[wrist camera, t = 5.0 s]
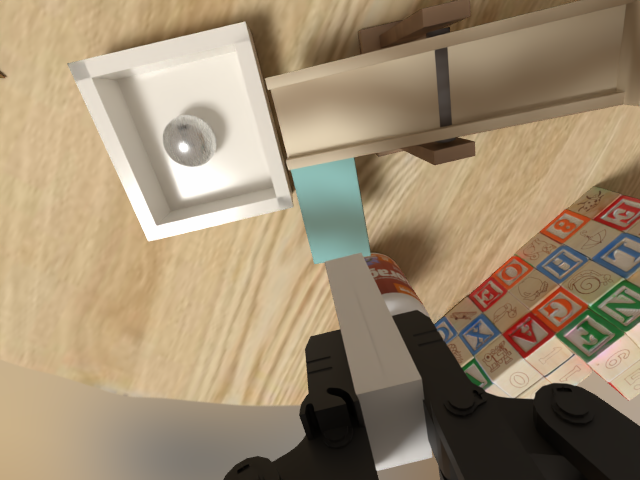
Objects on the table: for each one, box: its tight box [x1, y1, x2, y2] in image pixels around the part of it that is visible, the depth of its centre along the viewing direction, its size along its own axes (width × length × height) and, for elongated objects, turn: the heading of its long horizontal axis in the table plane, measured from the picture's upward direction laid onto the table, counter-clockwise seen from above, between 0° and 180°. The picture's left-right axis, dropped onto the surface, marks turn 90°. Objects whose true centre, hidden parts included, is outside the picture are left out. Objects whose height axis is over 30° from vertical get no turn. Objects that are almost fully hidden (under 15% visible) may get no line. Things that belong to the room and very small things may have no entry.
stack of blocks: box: [435, 186, 640, 401], centre depth 29 cm, size 21×6×12 cm, turn 138°
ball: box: [163, 115, 216, 167], centre depth 25 cm, size 4×4×4 cm
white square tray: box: [67, 22, 293, 241], centre depth 25 cm, size 12×11×4 cm
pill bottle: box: [364, 253, 430, 318], centre depth 28 cm, size 6×6×11 cm
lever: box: [265, 0, 640, 264], centre depth 20 cm, size 12×19×3 cm, turn 102°
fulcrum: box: [358, 0, 475, 165], centre depth 23 cm, size 9×5×9 cm, turn 12°
